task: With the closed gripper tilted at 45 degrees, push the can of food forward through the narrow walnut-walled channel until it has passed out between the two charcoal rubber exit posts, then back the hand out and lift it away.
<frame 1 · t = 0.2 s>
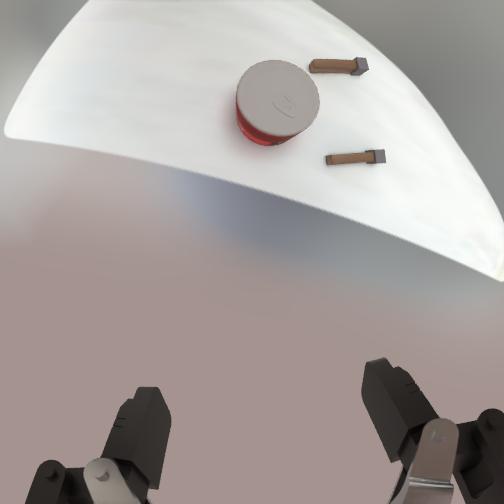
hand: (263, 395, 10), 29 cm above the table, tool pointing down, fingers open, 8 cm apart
exit posts: (363, 111, 33), on the table
canned food: (266, 117, 33), on the table
channel walls: (339, 112, 33), on the table
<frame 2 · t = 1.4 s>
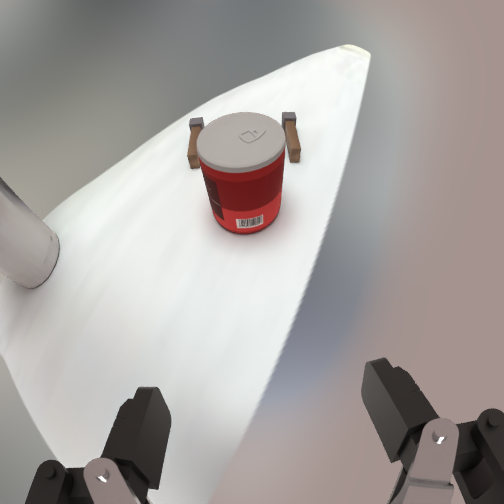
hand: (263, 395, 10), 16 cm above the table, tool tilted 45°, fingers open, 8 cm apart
exit posts: (243, 132, 39), on the table
canned food: (246, 208, 33), on the table
channel walls: (244, 149, 37), on the table
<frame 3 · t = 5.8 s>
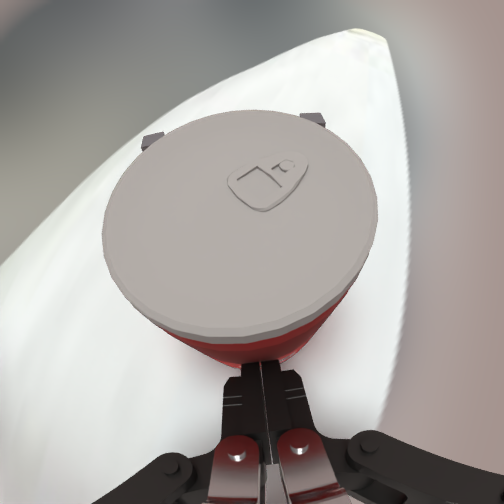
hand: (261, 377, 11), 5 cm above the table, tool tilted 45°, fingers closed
exit posts: (235, 151, 23), on the table
canned food: (255, 308, 17), on the table, touching gripper
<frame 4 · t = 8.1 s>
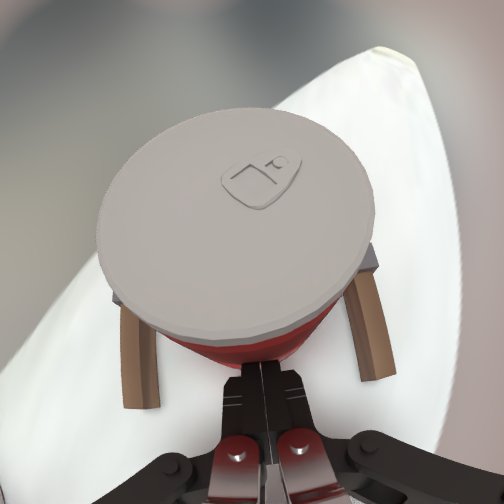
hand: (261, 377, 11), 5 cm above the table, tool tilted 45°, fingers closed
exit posts: (246, 292, 17), on the table
canned food: (251, 307, 17), on the table, touching gripper
channel walls: (253, 351, 16), on the table
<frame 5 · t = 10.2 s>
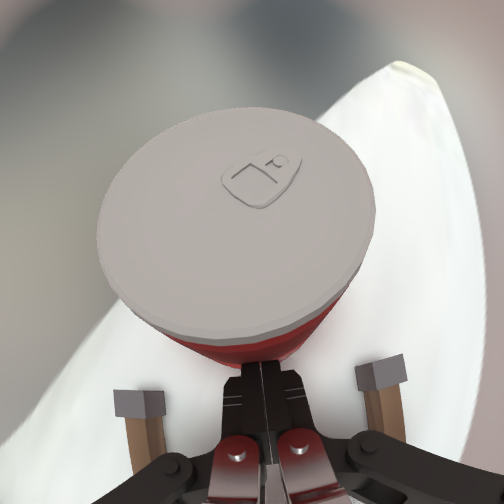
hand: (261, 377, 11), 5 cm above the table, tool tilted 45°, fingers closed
exit posts: (260, 397, 14), on the table
canned food: (252, 307, 17), on the table, touching gripper
channel walls: (268, 456, 13), on the table
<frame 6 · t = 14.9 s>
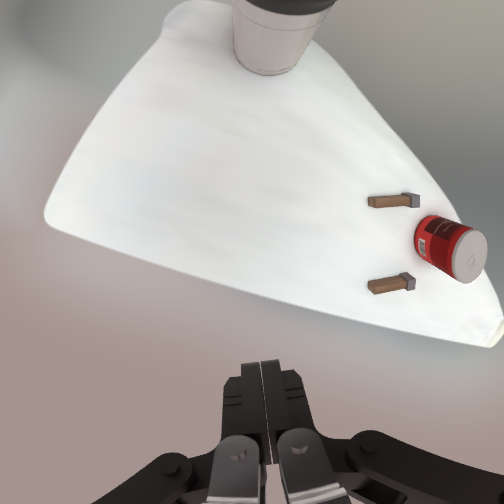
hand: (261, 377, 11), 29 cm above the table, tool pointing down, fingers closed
exit posts: (405, 239, 40), on the table
canned food: (429, 237, 40), on the table
channel walls: (385, 242, 40), on the table
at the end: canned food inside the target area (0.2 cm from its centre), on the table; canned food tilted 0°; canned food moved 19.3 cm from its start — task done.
